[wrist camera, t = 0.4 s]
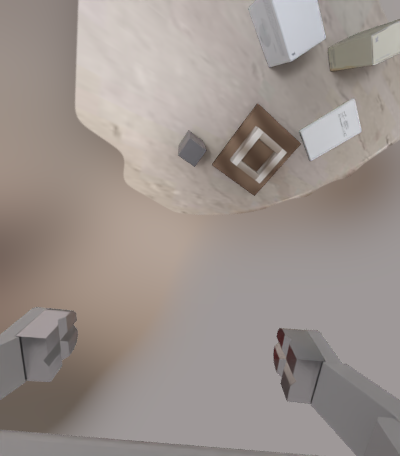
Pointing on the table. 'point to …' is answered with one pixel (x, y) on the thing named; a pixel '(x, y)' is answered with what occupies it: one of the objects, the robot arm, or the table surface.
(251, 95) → the table surface
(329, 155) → the table surface
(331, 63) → the skincare box
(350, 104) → the external hard drive
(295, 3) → the skincare box
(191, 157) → the plug
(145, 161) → the table surface
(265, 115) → the socket board
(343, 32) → the table surface
